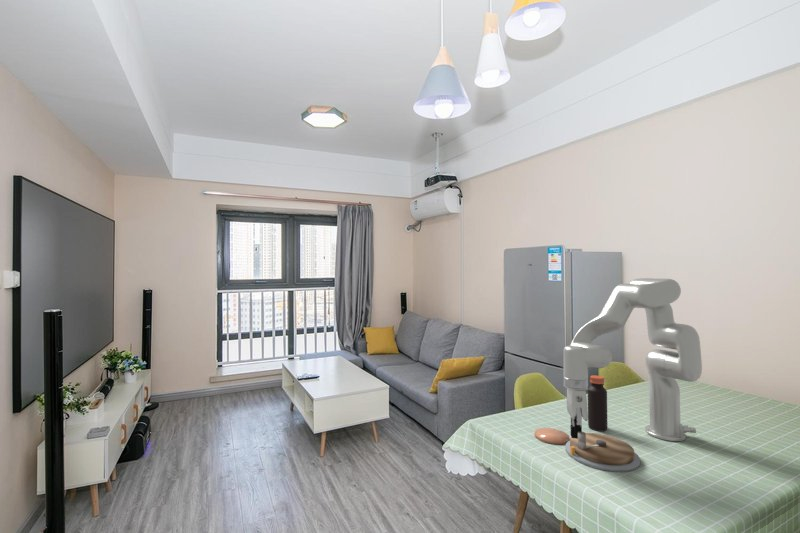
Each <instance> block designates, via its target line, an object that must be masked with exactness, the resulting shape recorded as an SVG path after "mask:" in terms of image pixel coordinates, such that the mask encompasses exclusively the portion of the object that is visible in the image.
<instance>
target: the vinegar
mask: <svg viewBox="0 0 800 533" xmlns="http://www.w3.org/2000/svg"><path fill="white" fill-rule="evenodd" d="M589 383H590V386H588V389H587V411H588V420H587V426H588V428H589V429H591V430H593V431H597V432H605V431H607V430H608V391H607V389H606V388H605V387H604V385H605V377H604V376H601V375H590V376H589Z"/></svg>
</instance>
